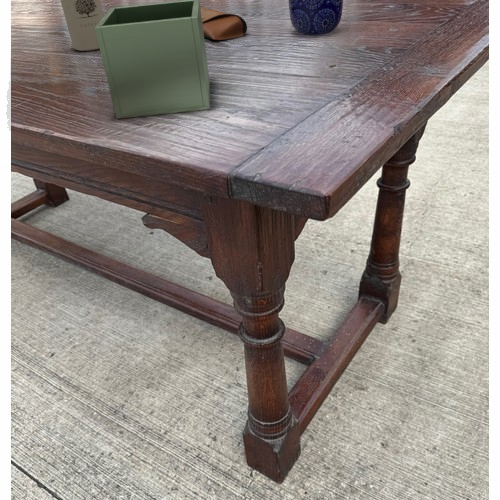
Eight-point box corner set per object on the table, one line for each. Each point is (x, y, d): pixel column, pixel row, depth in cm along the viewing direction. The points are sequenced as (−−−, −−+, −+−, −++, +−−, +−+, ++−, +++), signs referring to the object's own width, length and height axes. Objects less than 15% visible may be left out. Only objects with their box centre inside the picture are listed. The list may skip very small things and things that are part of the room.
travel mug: (74, 45, 114) (49, -48, 103) (110, 40, 115) (89, -52, 104) (73, 53, 107) (46, -44, 97) (111, 48, 108) (88, -49, 98)
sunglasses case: (173, 28, 117) (182, -2, 115) (198, 38, 121) (207, 10, 120) (215, 40, 104) (225, 7, 102) (240, 51, 109) (251, 20, 107)
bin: (116, 119, 74) (94, 27, 67) (128, 88, 85) (110, 7, 78) (209, 109, 74) (197, 17, 67) (209, 80, 85) (199, -2, 78)
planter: (284, 38, 103) (282, -23, 96) (295, 25, 111) (293, -32, 105) (338, 37, 100) (339, -26, 93) (345, 24, 108) (347, -36, 102)
